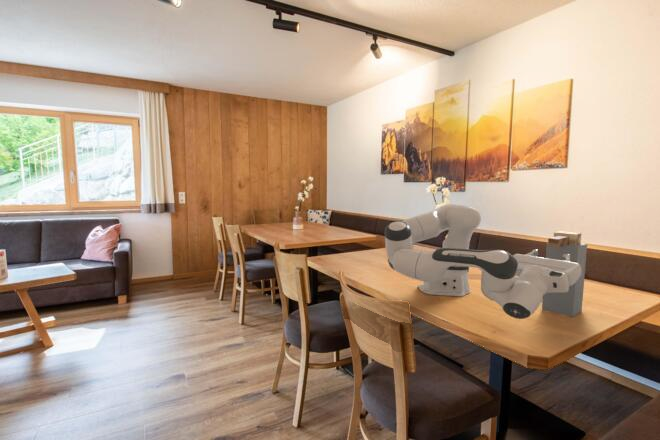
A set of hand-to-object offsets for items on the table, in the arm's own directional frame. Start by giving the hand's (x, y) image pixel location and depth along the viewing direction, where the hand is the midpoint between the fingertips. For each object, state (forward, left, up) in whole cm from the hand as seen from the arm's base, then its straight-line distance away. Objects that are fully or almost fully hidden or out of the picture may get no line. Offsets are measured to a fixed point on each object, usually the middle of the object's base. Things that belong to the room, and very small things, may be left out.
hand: (551, 253), depth 115 cm
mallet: (+8, +7, +2) cm, 11 cm away
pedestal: (+13, +11, -24) cm, 29 cm away
